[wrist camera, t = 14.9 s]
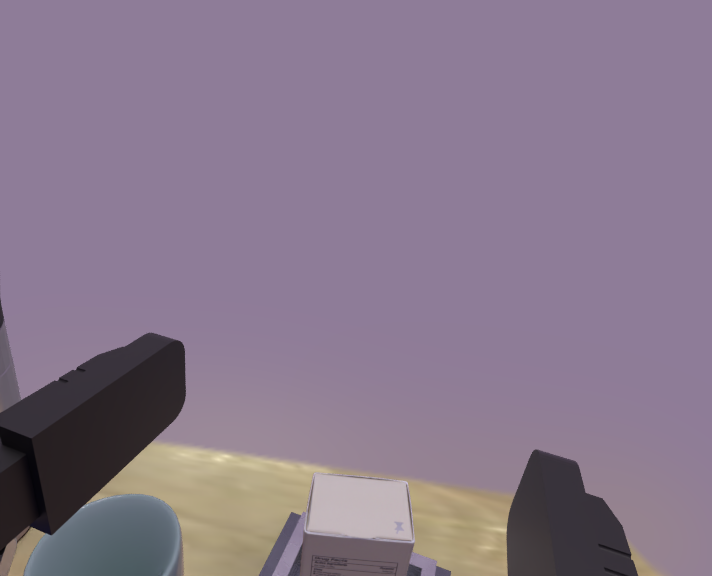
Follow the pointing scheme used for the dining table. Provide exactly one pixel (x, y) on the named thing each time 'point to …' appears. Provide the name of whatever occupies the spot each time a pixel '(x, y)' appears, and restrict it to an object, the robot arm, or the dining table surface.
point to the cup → (113, 541)
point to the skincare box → (357, 527)
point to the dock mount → (287, 552)
